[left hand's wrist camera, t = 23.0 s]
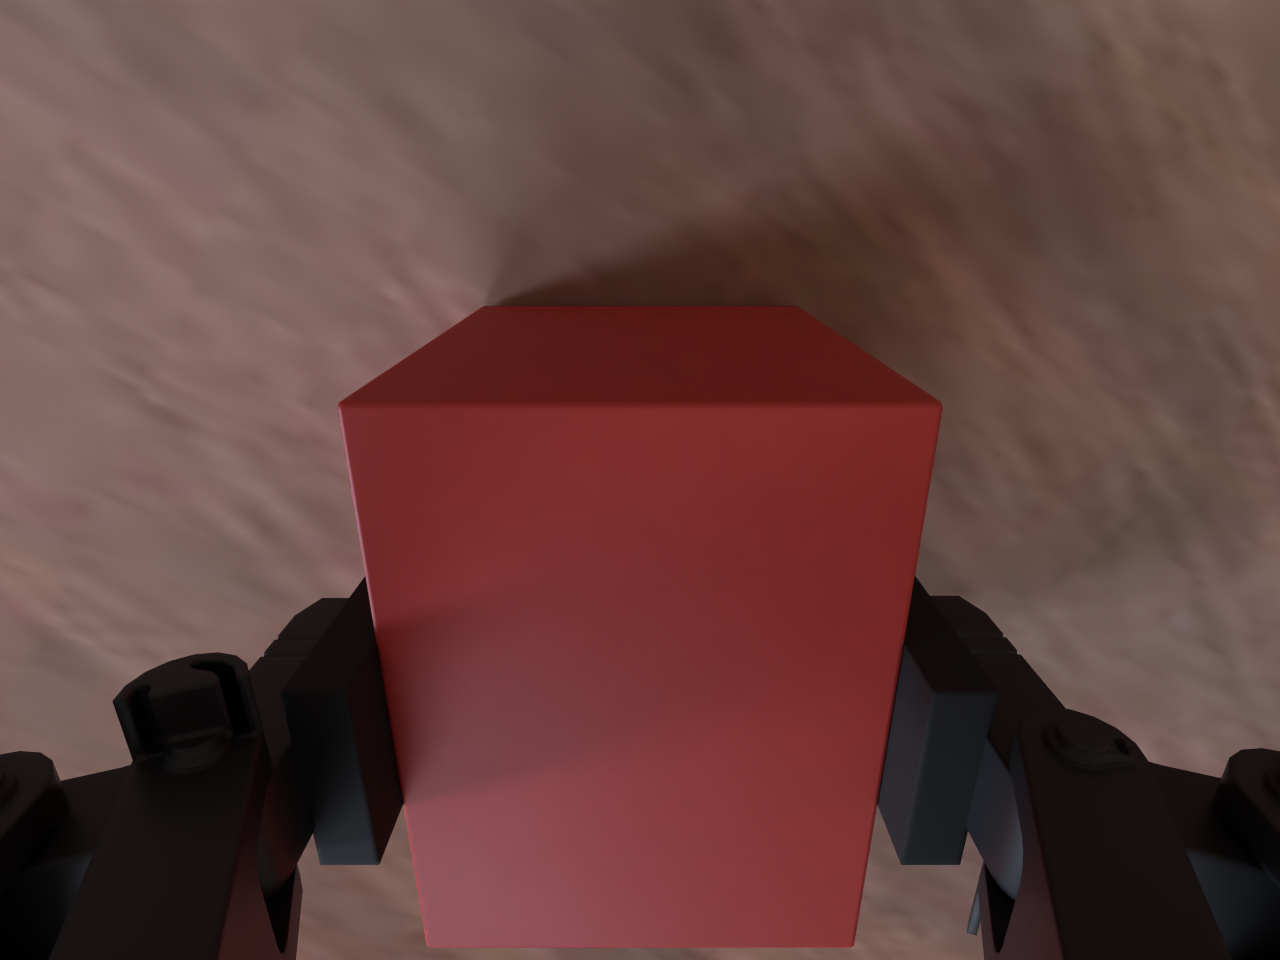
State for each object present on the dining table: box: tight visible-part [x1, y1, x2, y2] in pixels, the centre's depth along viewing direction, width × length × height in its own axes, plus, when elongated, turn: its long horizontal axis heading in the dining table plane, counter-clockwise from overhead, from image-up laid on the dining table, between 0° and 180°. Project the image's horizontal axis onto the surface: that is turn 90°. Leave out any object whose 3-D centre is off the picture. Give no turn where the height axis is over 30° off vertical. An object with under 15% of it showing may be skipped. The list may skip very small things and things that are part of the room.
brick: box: [338, 306, 942, 948], centre depth 13 cm, size 9×7×8 cm
